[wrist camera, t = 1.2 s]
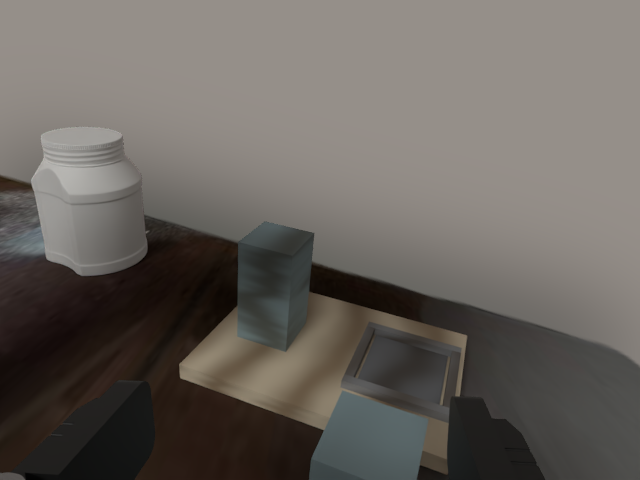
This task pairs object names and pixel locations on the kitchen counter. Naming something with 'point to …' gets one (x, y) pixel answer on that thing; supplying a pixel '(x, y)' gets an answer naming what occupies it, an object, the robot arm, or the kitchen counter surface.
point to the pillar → (369, 442)
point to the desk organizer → (323, 346)
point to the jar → (89, 201)
